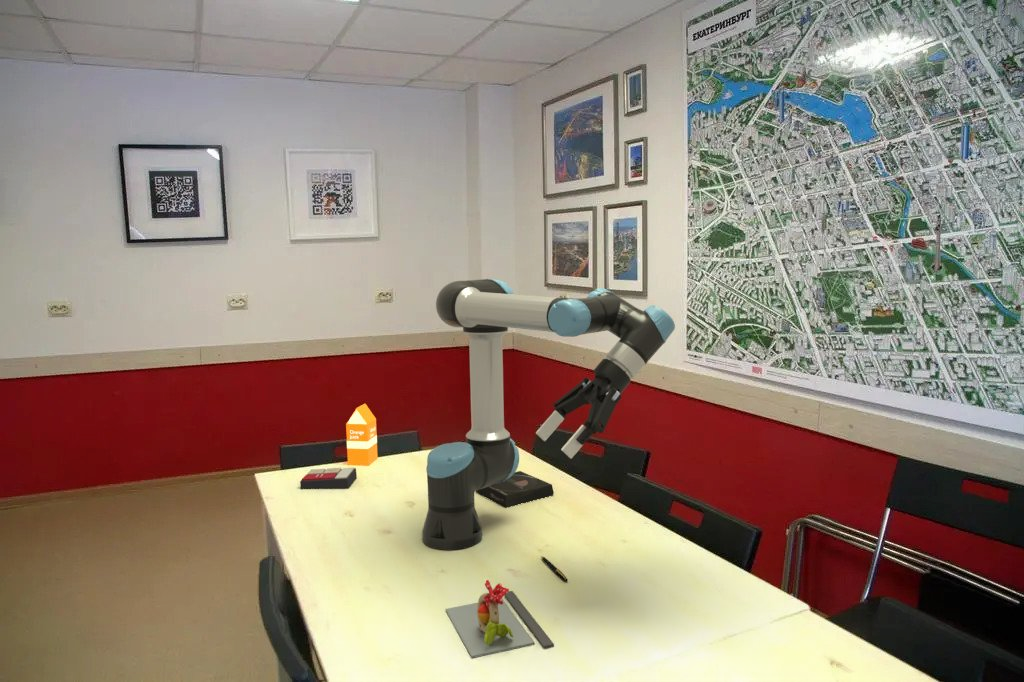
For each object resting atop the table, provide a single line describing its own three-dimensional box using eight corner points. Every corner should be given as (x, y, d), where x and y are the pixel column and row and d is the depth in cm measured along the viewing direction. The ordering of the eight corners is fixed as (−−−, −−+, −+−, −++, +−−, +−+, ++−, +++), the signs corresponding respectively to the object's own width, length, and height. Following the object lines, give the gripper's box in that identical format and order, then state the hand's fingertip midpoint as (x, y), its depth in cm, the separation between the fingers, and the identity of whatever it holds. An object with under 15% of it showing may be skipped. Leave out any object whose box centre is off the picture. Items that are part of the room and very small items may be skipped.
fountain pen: (538, 558, 165) (538, 552, 164) (543, 557, 165) (542, 551, 165) (565, 585, 151) (565, 578, 151) (570, 583, 152) (569, 577, 152)
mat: (443, 606, 142) (443, 603, 142) (512, 592, 148) (512, 590, 148) (475, 664, 122) (474, 661, 122) (553, 646, 127) (553, 643, 127)
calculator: (310, 468, 227) (356, 465, 227) (311, 481, 228) (357, 478, 227) (299, 479, 216) (347, 476, 216) (300, 492, 217) (348, 489, 216)
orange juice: (347, 465, 241) (344, 408, 239) (357, 457, 250) (354, 402, 248) (369, 465, 240) (366, 408, 238) (378, 458, 249) (375, 403, 246)
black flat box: (553, 497, 207) (553, 484, 207) (505, 509, 198) (505, 495, 197) (522, 482, 221) (521, 470, 220) (475, 493, 211) (475, 481, 211)
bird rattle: (469, 646, 130) (491, 649, 123) (457, 585, 133) (478, 584, 126) (497, 637, 134) (521, 638, 126) (485, 577, 136) (507, 575, 129)
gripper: (660, 391, 137) (590, 474, 134) (602, 371, 160) (541, 441, 157) (637, 366, 134) (565, 450, 131) (581, 349, 158) (519, 420, 155)
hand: (552, 445), depth 144 cm, fingers open, 13 cm apart
